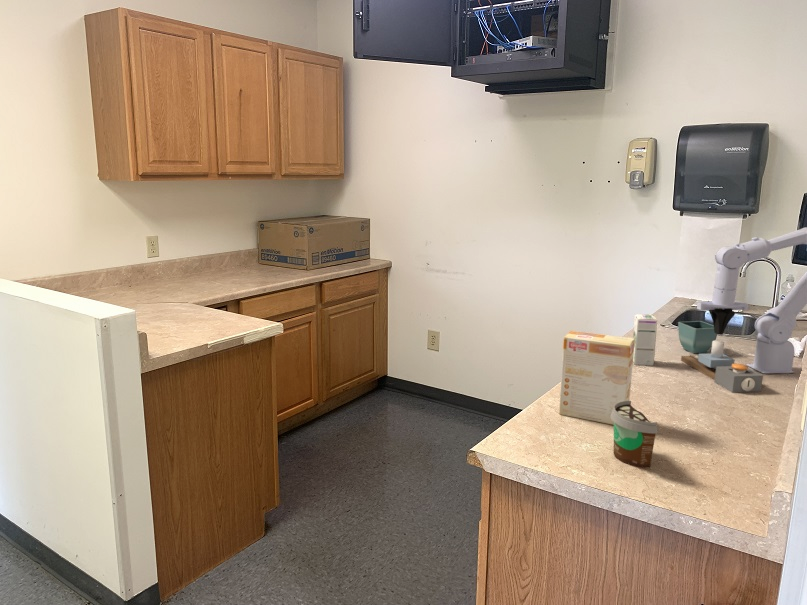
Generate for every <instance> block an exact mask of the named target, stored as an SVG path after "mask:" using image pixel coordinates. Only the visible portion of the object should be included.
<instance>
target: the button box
mask: <svg viewBox="0 0 807 605" xmlns="http://www.w3.org/2000/svg"><path fill="white" fill-rule="evenodd" d="M763 380H764V375H763V374H762V373H760V372H758V371H756V370H755V371H754V369H752V368H749V367H748V369H747V370H746V372H745V373H739V374H737V373H735V372H733V368H732V366H717V367H716V373H715V380H714V383H715V384H717V385H719V386H721V387H722V388H724V389H726V390H727V391H729V392H731V393H755V392H756V393H759V392H762V386H763Z"/></svg>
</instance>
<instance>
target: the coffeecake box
mask: <svg viewBox="0 0 807 605" xmlns="http://www.w3.org/2000/svg"><path fill="white" fill-rule="evenodd" d="M634 343H635V339H634V338H633V337H624V336H615V335H610V334H609V335H608V334H601V333H594V332H593V333H592V332H585V331H576V330H570V331H569V332H568V333H567V334H565V336H563V342H562V344H563V346H562V347H563V348H562V361H561V378H560V389H559V390H560V392H559V409H558V414H559V415H561V416H567V417H572V418H577V419H583V420H588V421H593V422H599V423H603V424H608V425H613V426H614V422H613V421H612V419H611V413H612V410H613V408H614V406H615V405H616V404H617V403H619V402H622V401H631V400H630V398H631V388H632V387H631V386H632V378H633V367H634V366H633V364H634V363H633V355H634Z"/></svg>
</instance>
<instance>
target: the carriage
mask: <svg viewBox="0 0 807 605" xmlns="http://www.w3.org/2000/svg"><path fill="white" fill-rule="evenodd" d="M724 349H725V341H723V340H717V339H716V340H715V341H712V347H711V349H710V350H711V352H710V353H698V356H699V358H698V361H699V362H701V363H703V364H704V365H706V366H708V367H710V368H716V367H717V366H732V364H735V359H734V358H732V357H730V356H728V355H726V354H725V353H724Z"/></svg>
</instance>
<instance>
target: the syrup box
mask: <svg viewBox="0 0 807 605" xmlns="http://www.w3.org/2000/svg"><path fill="white" fill-rule="evenodd" d="M657 327H658V319H657V318H656V317H655V315H653V314H641V313H640V314H634V323H633V335H632V338H634V339H635V343H634V355H633V364H634V365H636V366H645V365H647V366H648V367H649V366H650V367H654V366H655V355H656V354H655V353H656V343H657V329H658V328H657Z"/></svg>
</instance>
